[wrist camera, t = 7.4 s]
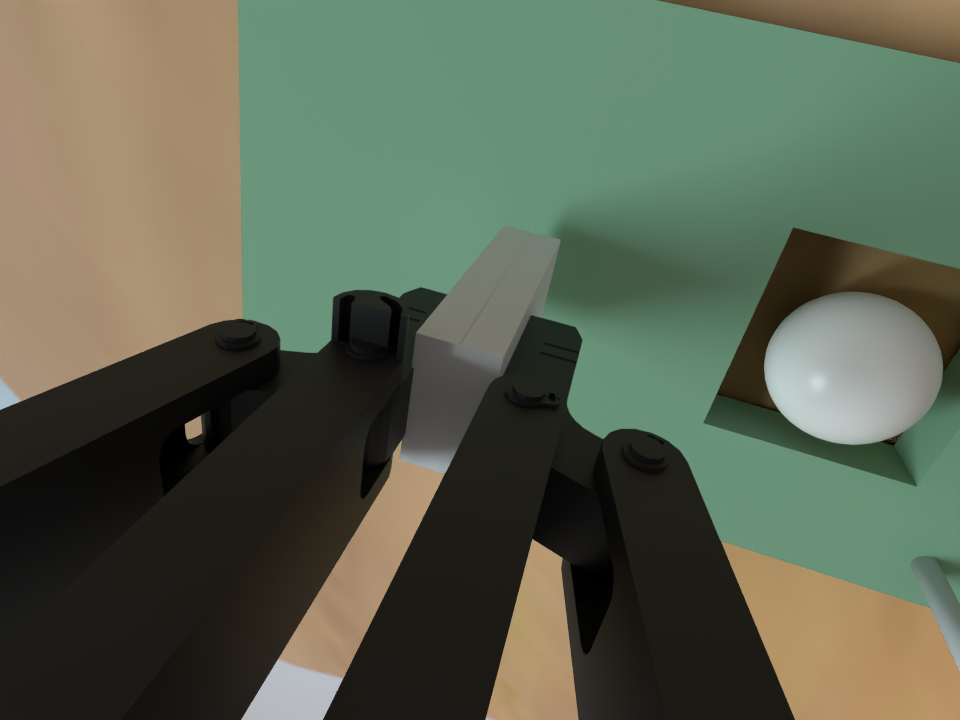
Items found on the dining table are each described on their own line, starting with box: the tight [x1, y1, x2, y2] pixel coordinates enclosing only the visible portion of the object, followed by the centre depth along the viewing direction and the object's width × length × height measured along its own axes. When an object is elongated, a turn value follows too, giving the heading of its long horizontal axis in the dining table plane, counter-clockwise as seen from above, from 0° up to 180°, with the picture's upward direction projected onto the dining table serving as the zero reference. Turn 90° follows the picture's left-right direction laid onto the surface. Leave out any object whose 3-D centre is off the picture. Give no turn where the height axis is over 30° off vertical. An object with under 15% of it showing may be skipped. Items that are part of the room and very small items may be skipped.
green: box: [238, 0, 960, 670], centre depth 15 cm, size 15×26×9 cm, turn 79°
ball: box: [764, 292, 943, 445], centre depth 16 cm, size 4×4×4 cm
